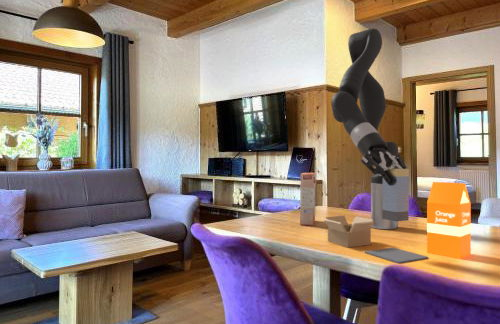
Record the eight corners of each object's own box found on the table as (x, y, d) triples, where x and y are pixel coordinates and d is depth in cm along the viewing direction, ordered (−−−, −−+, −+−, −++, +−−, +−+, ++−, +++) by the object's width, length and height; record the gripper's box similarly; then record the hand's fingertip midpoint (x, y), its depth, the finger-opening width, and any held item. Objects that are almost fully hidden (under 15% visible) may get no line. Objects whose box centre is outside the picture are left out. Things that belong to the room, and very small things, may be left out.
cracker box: (314, 226, 149) (314, 173, 149) (299, 225, 150) (299, 173, 150) (315, 220, 163) (315, 172, 162) (301, 220, 164) (301, 172, 164)
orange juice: (438, 248, 111) (438, 181, 111) (471, 254, 104) (471, 182, 104) (426, 253, 106) (426, 182, 106) (460, 259, 99) (460, 184, 99)
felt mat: (393, 248, 111) (393, 247, 111) (428, 258, 100) (428, 256, 100) (364, 252, 106) (364, 251, 106) (398, 263, 95) (398, 261, 95)
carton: (350, 236, 128) (350, 214, 128) (381, 245, 115) (381, 220, 115) (318, 240, 122) (318, 217, 122) (346, 249, 109) (346, 224, 109)
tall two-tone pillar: (394, 217, 106) (394, 168, 106) (408, 220, 102) (409, 168, 102) (382, 218, 104) (382, 168, 104) (396, 221, 100) (396, 169, 100)
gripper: (355, 130, 107) (388, 174, 96) (392, 132, 113) (426, 173, 102) (343, 149, 112) (372, 193, 101) (379, 150, 118) (410, 191, 107)
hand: (399, 183), depth 102 cm, fingers closed on tall two-tone pillar, 4 cm apart
